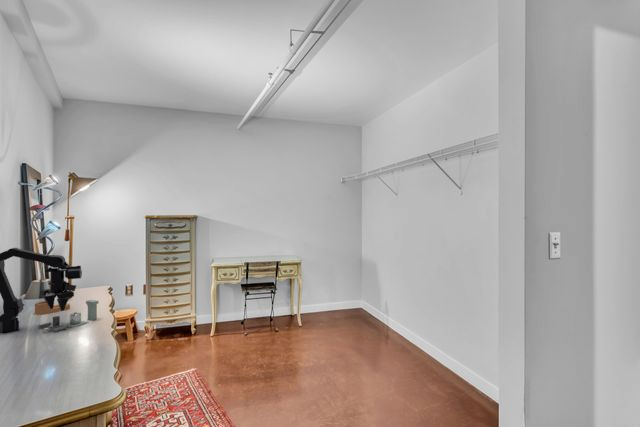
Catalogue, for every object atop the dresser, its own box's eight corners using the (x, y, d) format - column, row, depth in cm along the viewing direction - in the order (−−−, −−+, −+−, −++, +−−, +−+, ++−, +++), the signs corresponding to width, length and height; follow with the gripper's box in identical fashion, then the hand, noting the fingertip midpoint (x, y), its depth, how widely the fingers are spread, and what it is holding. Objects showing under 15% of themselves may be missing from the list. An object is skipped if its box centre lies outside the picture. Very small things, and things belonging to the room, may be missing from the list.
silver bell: (73, 325, 176) (73, 314, 176) (67, 324, 178) (67, 313, 178) (82, 322, 181) (83, 311, 181) (76, 321, 183) (76, 310, 183)
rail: (55, 333, 166) (55, 328, 166) (38, 329, 171) (38, 325, 171) (66, 329, 171) (66, 325, 171) (49, 326, 176) (49, 322, 176)
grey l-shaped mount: (72, 327, 174) (72, 307, 174) (62, 325, 177) (62, 306, 177) (99, 319, 188) (99, 300, 188) (90, 318, 191) (90, 299, 191)
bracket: (40, 316, 194) (40, 304, 194) (31, 315, 197) (31, 303, 197) (73, 308, 210) (73, 297, 210) (64, 307, 213) (64, 296, 213)
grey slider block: (45, 332, 164) (45, 320, 164) (40, 331, 165) (40, 319, 165) (62, 327, 171) (63, 316, 171) (57, 326, 172) (57, 315, 172)
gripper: (84, 278, 179) (84, 308, 178) (63, 276, 186) (63, 304, 186) (61, 282, 168) (61, 313, 168) (39, 279, 176) (39, 309, 176)
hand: (57, 309), depth 175 cm, fingers open, 9 cm apart
